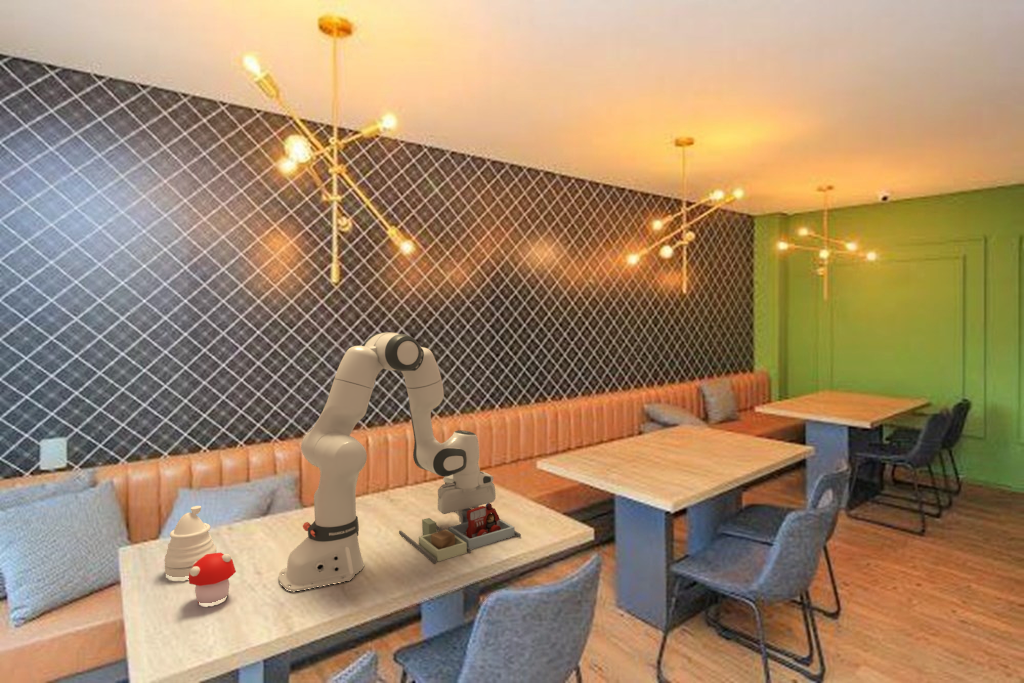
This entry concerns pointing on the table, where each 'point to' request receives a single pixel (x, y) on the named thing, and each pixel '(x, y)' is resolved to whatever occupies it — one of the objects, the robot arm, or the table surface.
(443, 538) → the walnut cube
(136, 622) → the table surface
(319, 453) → the robot arm
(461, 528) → the grey open rectangular tray
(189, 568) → the honey pot
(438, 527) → the lane rails
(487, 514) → the toy fire truck
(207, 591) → the mushroom
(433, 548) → the cube lane
